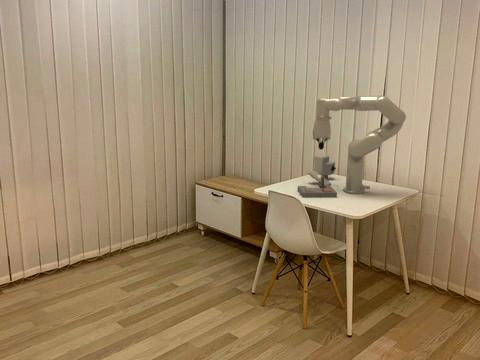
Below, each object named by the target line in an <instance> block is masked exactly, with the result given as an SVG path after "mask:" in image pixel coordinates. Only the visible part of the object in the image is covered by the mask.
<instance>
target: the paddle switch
mask: <svg viewBox="0 0 480 360" xmlns="http://www.w3.org/2000/svg"><path fill="white" fill-rule="evenodd" d="M317 186H319V187H320V188H326V186H325V185H324V177H323V176H321V183H319V184H318V185H317Z"/></svg>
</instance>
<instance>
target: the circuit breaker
mask: <svg viewBox="0 0 480 360" xmlns="http://www.w3.org/2000/svg"><path fill="white" fill-rule="evenodd" d="M312 159H313V162H312V163H314V167H313V171H316V172H317V173H319V174H320V175H321V176H323V177H324V178H325V179H326V178H327V179H328V178H329V176H331V175H334V174H335V170H337V168H336V162H333V161H330V156H329V155H320V154H318V155H315V156H313V158H312Z"/></svg>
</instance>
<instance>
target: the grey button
mask: <svg viewBox="0 0 480 360" xmlns="http://www.w3.org/2000/svg"><path fill="white" fill-rule="evenodd" d="M305 186H306V189H305V191H306V192H314V190H315V188H314V186H315V185H305Z"/></svg>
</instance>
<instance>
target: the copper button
mask: <svg viewBox="0 0 480 360" xmlns="http://www.w3.org/2000/svg"><path fill="white" fill-rule="evenodd" d="M322 191H323V192H331V189H330V188H322Z"/></svg>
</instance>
